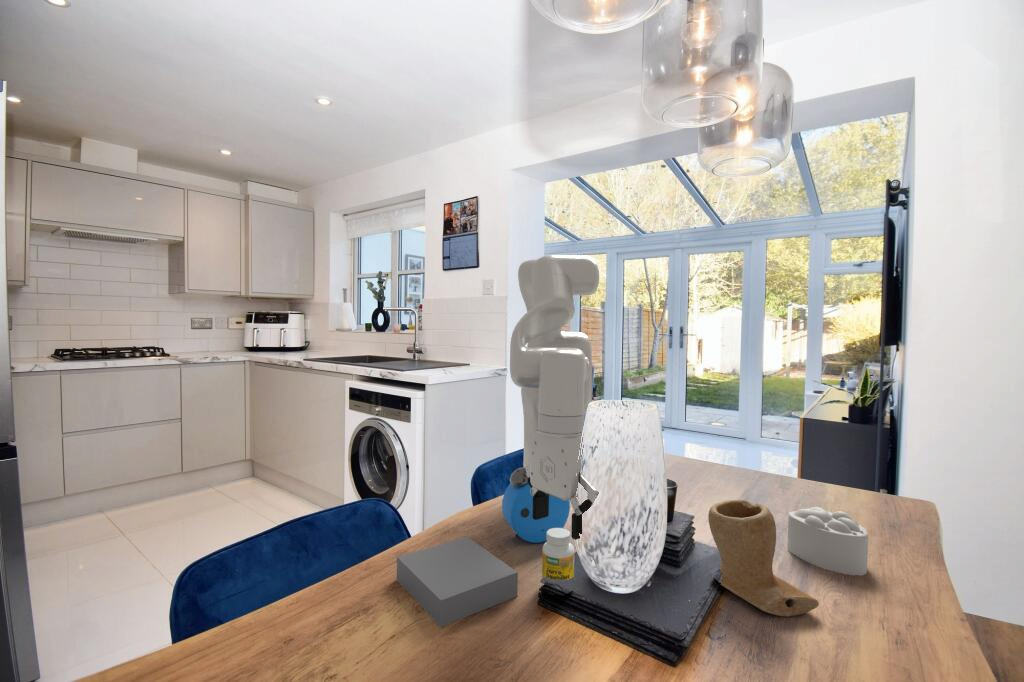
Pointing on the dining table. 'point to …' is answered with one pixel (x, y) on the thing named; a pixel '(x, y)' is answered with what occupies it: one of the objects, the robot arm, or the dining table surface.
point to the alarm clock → (530, 510)
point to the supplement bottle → (558, 555)
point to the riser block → (456, 579)
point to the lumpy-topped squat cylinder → (828, 540)
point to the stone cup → (753, 558)
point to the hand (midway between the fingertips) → (559, 527)
